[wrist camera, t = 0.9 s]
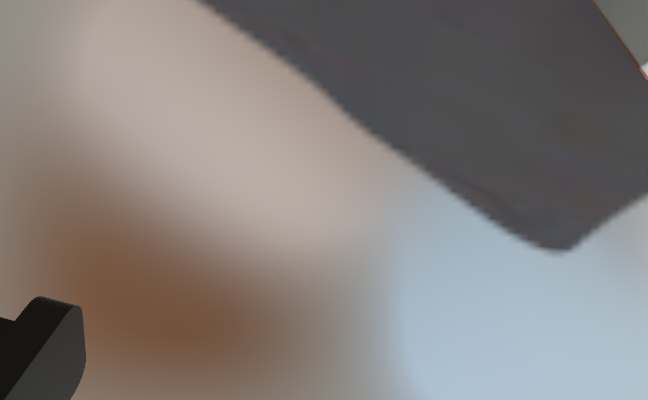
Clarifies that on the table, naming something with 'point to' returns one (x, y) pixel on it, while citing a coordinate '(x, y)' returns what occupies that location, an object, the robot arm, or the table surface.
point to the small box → (629, 27)
